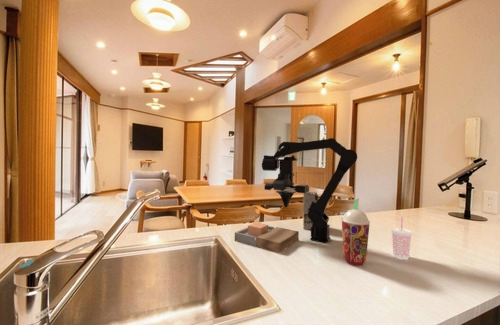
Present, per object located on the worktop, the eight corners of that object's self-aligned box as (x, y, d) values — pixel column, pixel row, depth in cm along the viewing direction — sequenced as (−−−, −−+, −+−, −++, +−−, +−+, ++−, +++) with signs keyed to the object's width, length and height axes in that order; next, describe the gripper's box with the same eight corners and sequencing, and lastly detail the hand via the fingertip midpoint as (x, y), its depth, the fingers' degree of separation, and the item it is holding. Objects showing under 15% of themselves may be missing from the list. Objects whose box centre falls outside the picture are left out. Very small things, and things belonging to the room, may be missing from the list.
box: (276, 234, 104) (276, 227, 104) (255, 246, 91) (255, 237, 91) (256, 230, 110) (256, 223, 110) (234, 240, 97) (234, 232, 97)
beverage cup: (387, 255, 84) (388, 215, 83) (394, 251, 88) (396, 213, 87) (407, 262, 79) (408, 219, 78) (414, 257, 83) (415, 216, 82)
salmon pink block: (267, 232, 101) (268, 224, 101) (260, 237, 96) (260, 228, 96) (255, 230, 104) (255, 222, 104) (247, 234, 99) (248, 225, 99)
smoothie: (366, 270, 73) (368, 204, 72) (338, 263, 77) (339, 201, 77) (370, 260, 80) (371, 200, 79) (343, 254, 84) (344, 197, 84)
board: (298, 239, 98) (298, 231, 98) (279, 252, 85) (279, 243, 85) (276, 234, 104) (276, 226, 104) (256, 246, 91) (256, 237, 91)
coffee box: (317, 230, 111) (318, 195, 111) (303, 229, 113) (303, 194, 112) (316, 224, 120) (316, 192, 120) (302, 223, 122) (303, 191, 121)
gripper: (257, 171, 103) (257, 208, 103) (299, 173, 92) (299, 214, 93) (270, 170, 112) (270, 203, 112) (309, 171, 102) (309, 208, 102)
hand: (286, 207), depth 105 cm, fingers closed
